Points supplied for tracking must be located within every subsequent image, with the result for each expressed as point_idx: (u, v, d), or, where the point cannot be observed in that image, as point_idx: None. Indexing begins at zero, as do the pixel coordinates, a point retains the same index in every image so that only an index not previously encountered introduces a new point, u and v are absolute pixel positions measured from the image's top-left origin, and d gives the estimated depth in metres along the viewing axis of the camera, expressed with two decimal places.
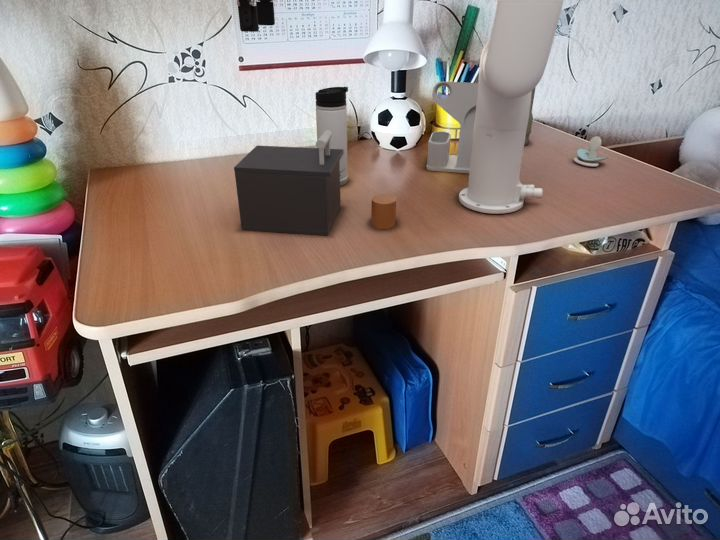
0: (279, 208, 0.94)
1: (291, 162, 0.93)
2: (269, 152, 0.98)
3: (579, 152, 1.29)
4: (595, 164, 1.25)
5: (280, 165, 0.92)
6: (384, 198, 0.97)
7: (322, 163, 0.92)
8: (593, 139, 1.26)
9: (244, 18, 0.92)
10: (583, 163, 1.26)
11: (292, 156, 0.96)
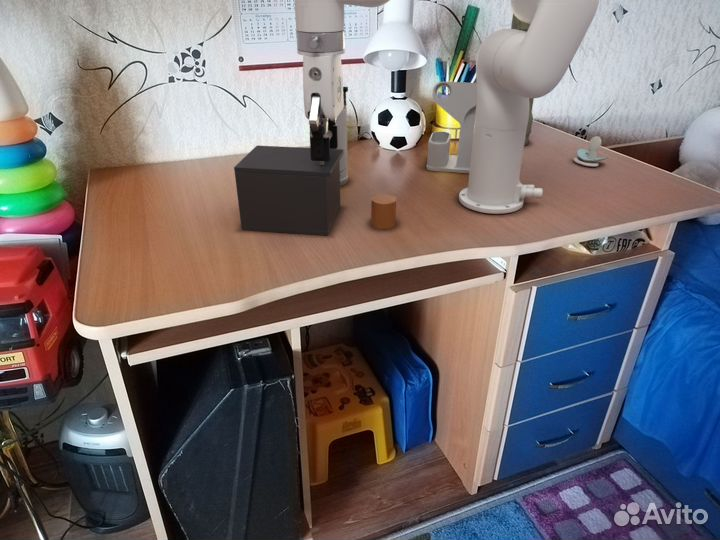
0: (279, 208, 0.94)
1: (291, 162, 0.93)
2: (269, 152, 0.98)
3: (579, 152, 1.29)
4: (595, 164, 1.25)
5: (280, 165, 0.92)
6: (384, 198, 0.97)
7: (322, 163, 0.92)
8: (593, 139, 1.26)
9: (316, 150, 0.89)
10: (583, 163, 1.26)
11: (292, 156, 0.96)
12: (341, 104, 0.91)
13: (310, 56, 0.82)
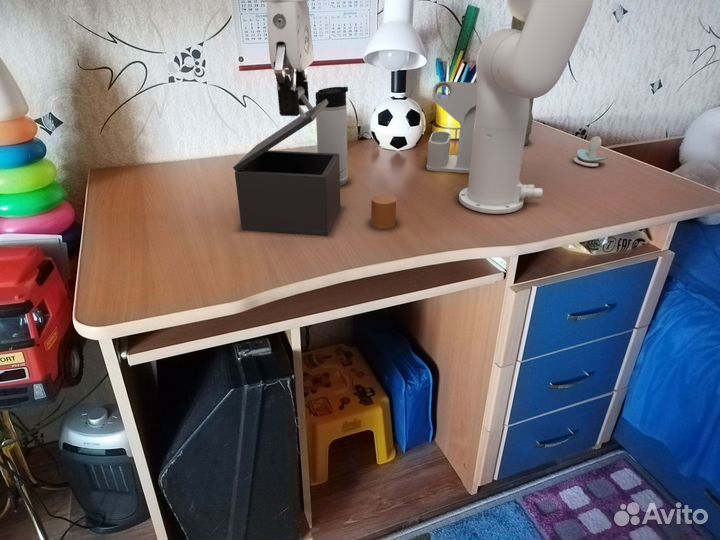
0: (279, 208, 0.94)
1: (279, 134, 0.91)
2: (263, 142, 0.97)
3: (579, 152, 1.29)
4: (595, 164, 1.25)
5: (270, 141, 0.90)
6: (384, 198, 0.97)
7: (304, 116, 0.88)
8: (593, 139, 1.26)
9: (284, 103, 0.86)
10: (583, 163, 1.26)
11: (282, 130, 0.94)
12: (310, 56, 0.88)
13: (273, 2, 0.79)
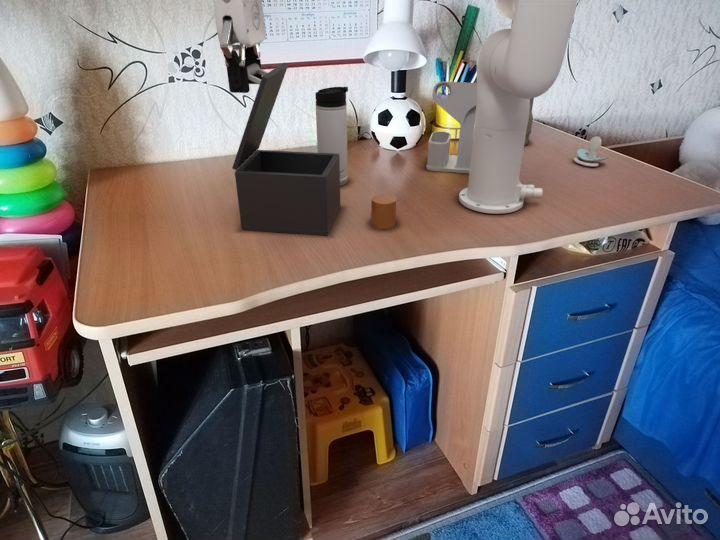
0: (279, 208, 0.94)
1: None
2: None
3: (579, 152, 1.29)
4: (595, 164, 1.25)
5: None
6: (384, 198, 0.97)
7: None
8: (593, 139, 1.26)
9: (233, 79, 0.86)
10: (583, 163, 1.26)
11: None
12: (261, 33, 0.87)
13: None
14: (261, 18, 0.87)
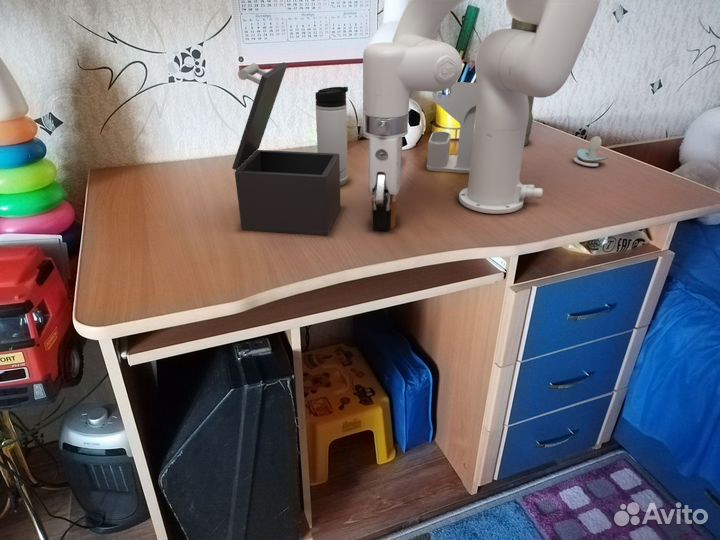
0: (279, 208, 0.94)
1: None
2: None
3: (579, 152, 1.29)
4: (595, 164, 1.25)
5: None
6: (384, 198, 0.97)
7: None
8: (593, 139, 1.26)
9: (378, 221, 0.95)
10: (583, 163, 1.26)
11: None
12: None
13: (377, 138, 0.87)
14: None
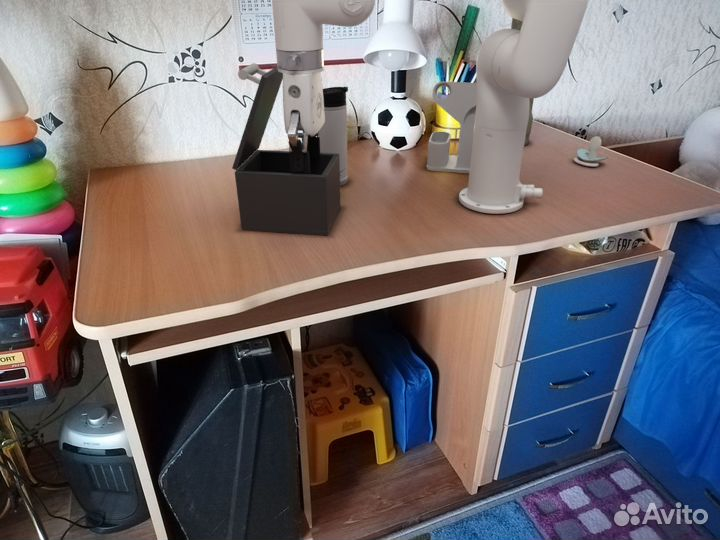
0: (279, 208, 0.94)
1: None
2: None
3: (579, 152, 1.29)
4: (595, 164, 1.25)
5: None
6: None
7: None
8: (593, 139, 1.26)
9: (295, 164, 0.90)
10: (583, 163, 1.26)
11: None
12: (322, 119, 0.93)
13: (289, 74, 0.84)
14: (322, 105, 0.93)
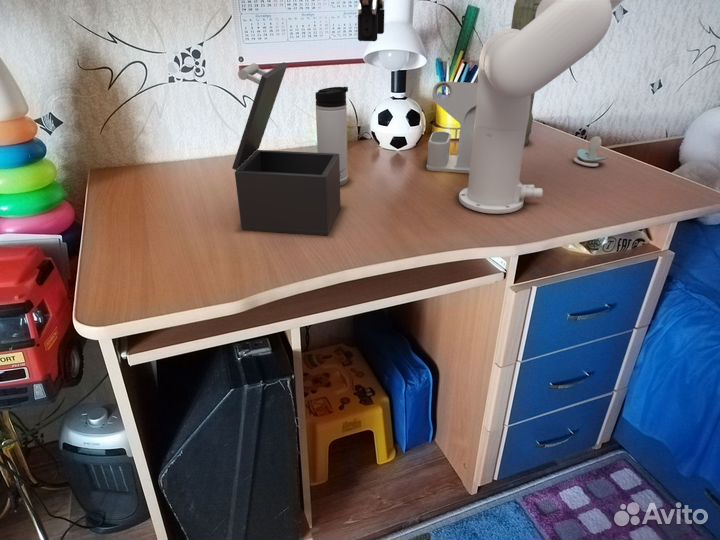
0: (279, 208, 0.94)
1: None
2: None
3: (579, 152, 1.29)
4: (595, 164, 1.25)
5: None
6: None
7: None
8: (593, 139, 1.26)
9: (364, 27, 0.88)
10: (583, 163, 1.26)
11: None
12: None
13: None
14: None
